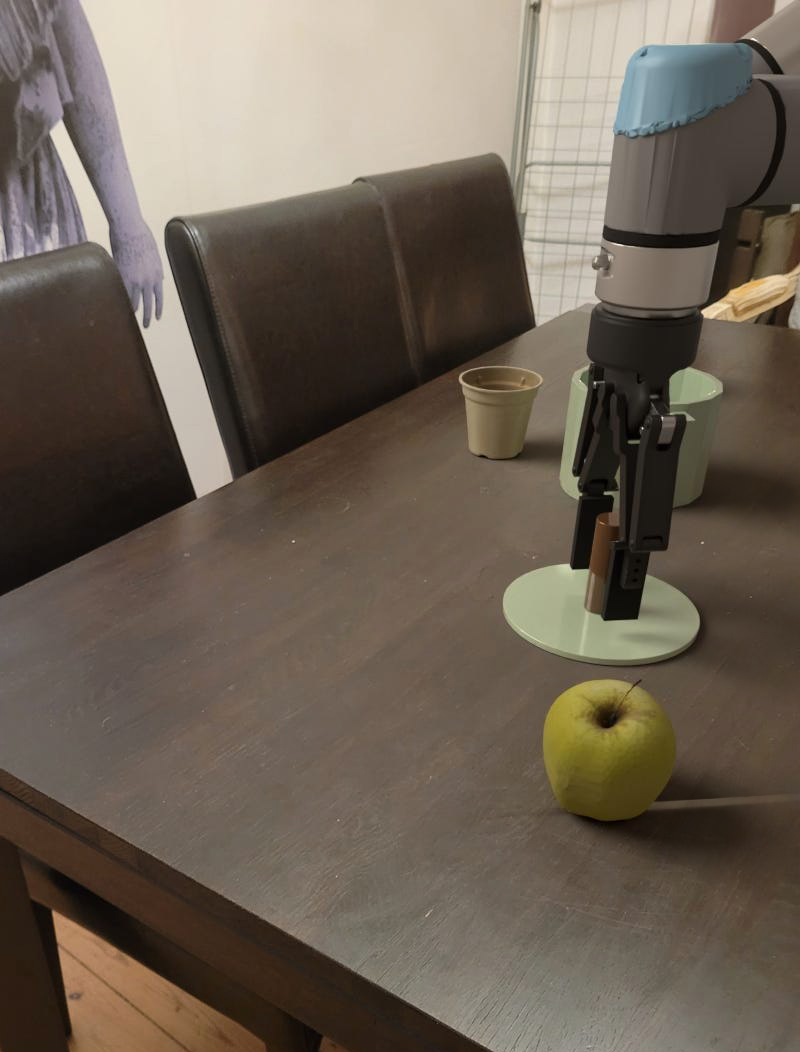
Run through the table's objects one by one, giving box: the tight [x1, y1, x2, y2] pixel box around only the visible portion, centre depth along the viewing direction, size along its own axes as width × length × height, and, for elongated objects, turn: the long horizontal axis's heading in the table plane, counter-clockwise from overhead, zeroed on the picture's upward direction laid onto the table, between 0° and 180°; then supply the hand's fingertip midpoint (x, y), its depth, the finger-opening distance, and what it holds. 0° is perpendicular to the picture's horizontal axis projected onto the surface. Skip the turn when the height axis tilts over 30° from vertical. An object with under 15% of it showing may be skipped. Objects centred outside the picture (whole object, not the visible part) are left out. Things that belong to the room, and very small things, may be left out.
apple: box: [542, 678, 677, 822], centre depth 58 cm, size 8×8×10 cm
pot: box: [559, 364, 724, 509], centre depth 100 cm, size 15×20×12 cm
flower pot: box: [458, 365, 544, 460], centre depth 111 cm, size 9×9×9 cm
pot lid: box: [501, 512, 701, 667], centre depth 77 cm, size 16×16×9 cm
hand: (602, 591), depth 78 cm, fingers open, 8 cm apart
